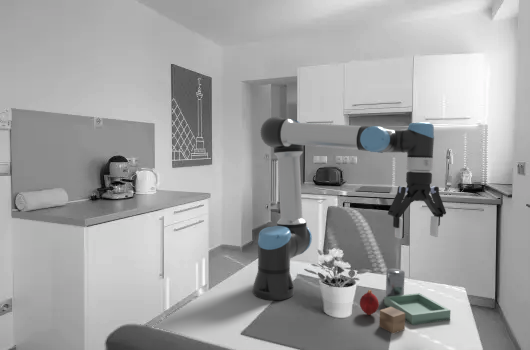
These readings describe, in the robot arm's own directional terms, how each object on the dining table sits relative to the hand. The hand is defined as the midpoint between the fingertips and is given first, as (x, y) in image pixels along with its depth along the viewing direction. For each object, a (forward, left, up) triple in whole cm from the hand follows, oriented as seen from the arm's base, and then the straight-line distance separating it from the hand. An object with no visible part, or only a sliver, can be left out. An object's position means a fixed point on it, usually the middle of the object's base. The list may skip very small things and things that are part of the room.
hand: (416, 237), depth 114 cm
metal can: (-10, 0, -25) cm, 27 cm away
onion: (-1, -16, -25) cm, 29 cm away
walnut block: (+8, -14, -25) cm, 29 cm away
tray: (+1, 0, -25) cm, 25 cm away
